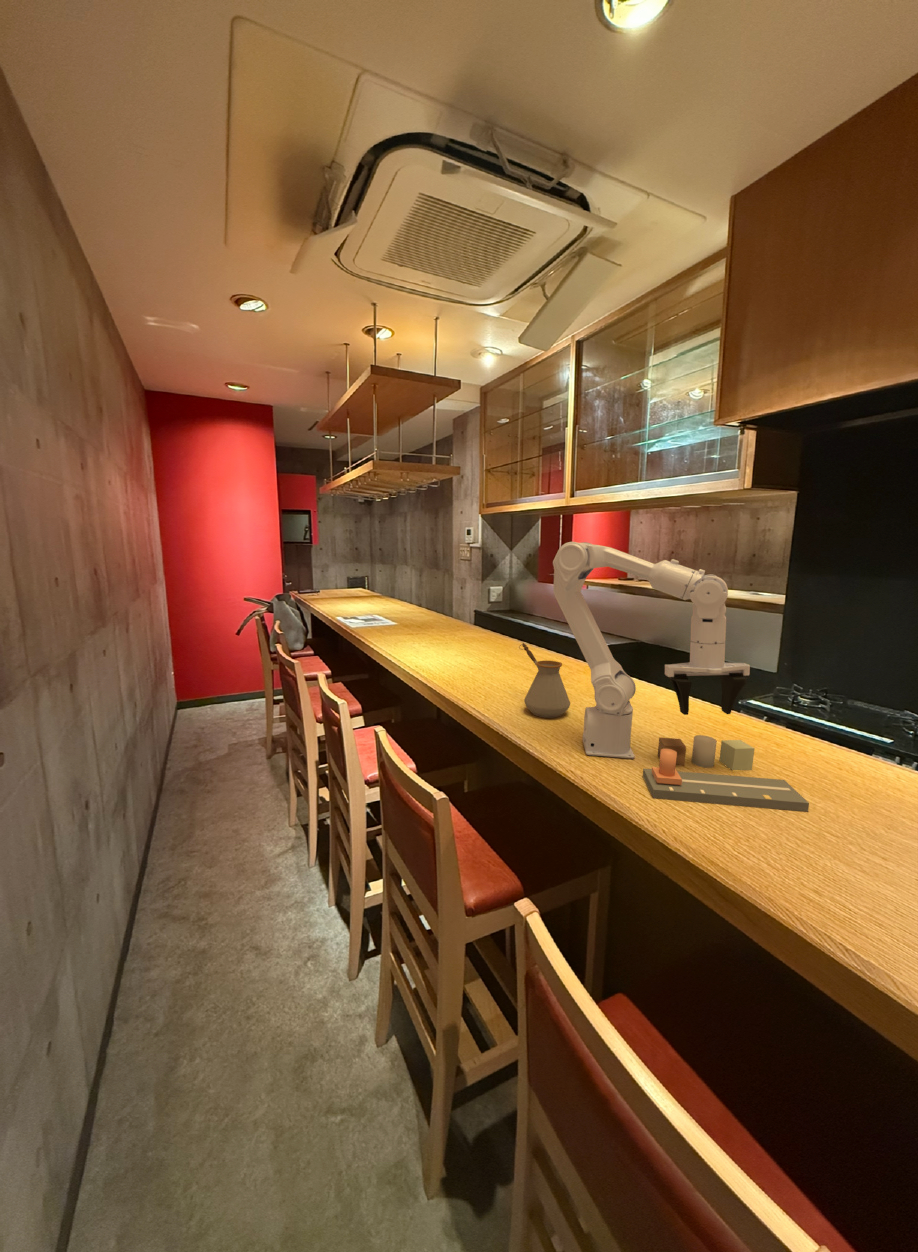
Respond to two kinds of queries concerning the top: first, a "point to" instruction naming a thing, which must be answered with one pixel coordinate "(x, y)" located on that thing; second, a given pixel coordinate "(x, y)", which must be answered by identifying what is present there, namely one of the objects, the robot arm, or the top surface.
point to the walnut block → (673, 748)
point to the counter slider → (667, 768)
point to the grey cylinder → (704, 751)
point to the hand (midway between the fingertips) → (705, 712)
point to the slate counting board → (729, 791)
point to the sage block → (736, 754)
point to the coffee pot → (546, 689)
